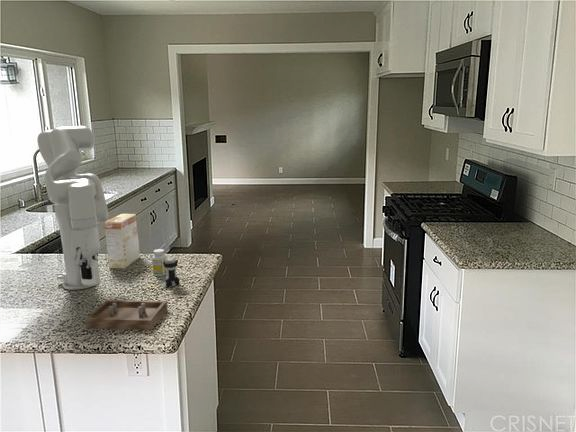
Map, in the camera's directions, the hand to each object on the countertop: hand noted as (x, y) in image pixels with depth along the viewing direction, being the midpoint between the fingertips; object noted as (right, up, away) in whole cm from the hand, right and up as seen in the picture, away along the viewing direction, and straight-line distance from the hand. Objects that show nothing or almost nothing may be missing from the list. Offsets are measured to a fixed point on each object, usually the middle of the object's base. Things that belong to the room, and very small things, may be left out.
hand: (90, 276), depth 156 cm
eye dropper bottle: (0, -3, +1) cm, 3 cm away
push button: (+21, -6, +19) cm, 29 cm away
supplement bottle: (+15, -3, +32) cm, 35 cm away
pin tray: (+15, -12, -8) cm, 21 cm away
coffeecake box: (-4, 0, +46) cm, 46 cm away
